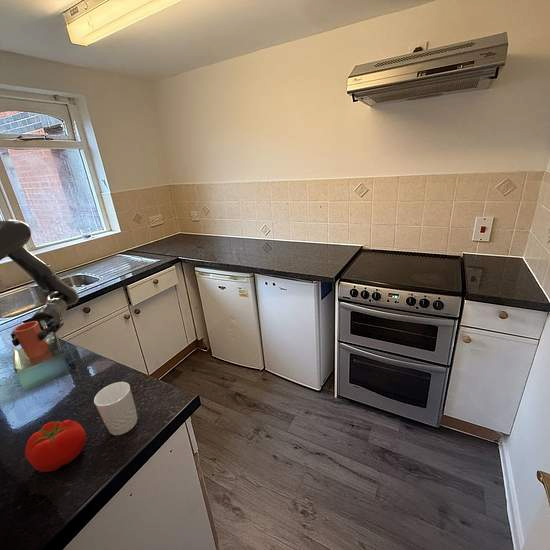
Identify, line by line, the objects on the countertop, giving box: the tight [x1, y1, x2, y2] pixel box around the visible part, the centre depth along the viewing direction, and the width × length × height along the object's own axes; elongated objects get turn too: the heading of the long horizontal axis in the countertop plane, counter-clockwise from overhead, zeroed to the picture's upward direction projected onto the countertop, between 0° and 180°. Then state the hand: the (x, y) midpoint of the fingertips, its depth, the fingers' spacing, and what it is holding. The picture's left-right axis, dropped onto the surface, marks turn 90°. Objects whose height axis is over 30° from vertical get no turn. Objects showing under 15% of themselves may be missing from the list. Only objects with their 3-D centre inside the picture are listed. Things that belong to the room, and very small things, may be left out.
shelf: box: [12, 332, 71, 392], centre depth 99 cm, size 16×12×8 cm
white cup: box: [93, 381, 139, 436], centre depth 74 cm, size 8×8×10 cm
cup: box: [13, 321, 49, 358], centre depth 96 cm, size 6×6×10 cm
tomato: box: [24, 419, 87, 473], centre depth 66 cm, size 11×11×9 cm
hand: (27, 340), depth 93 cm, fingers closed on cup, 6 cm apart
